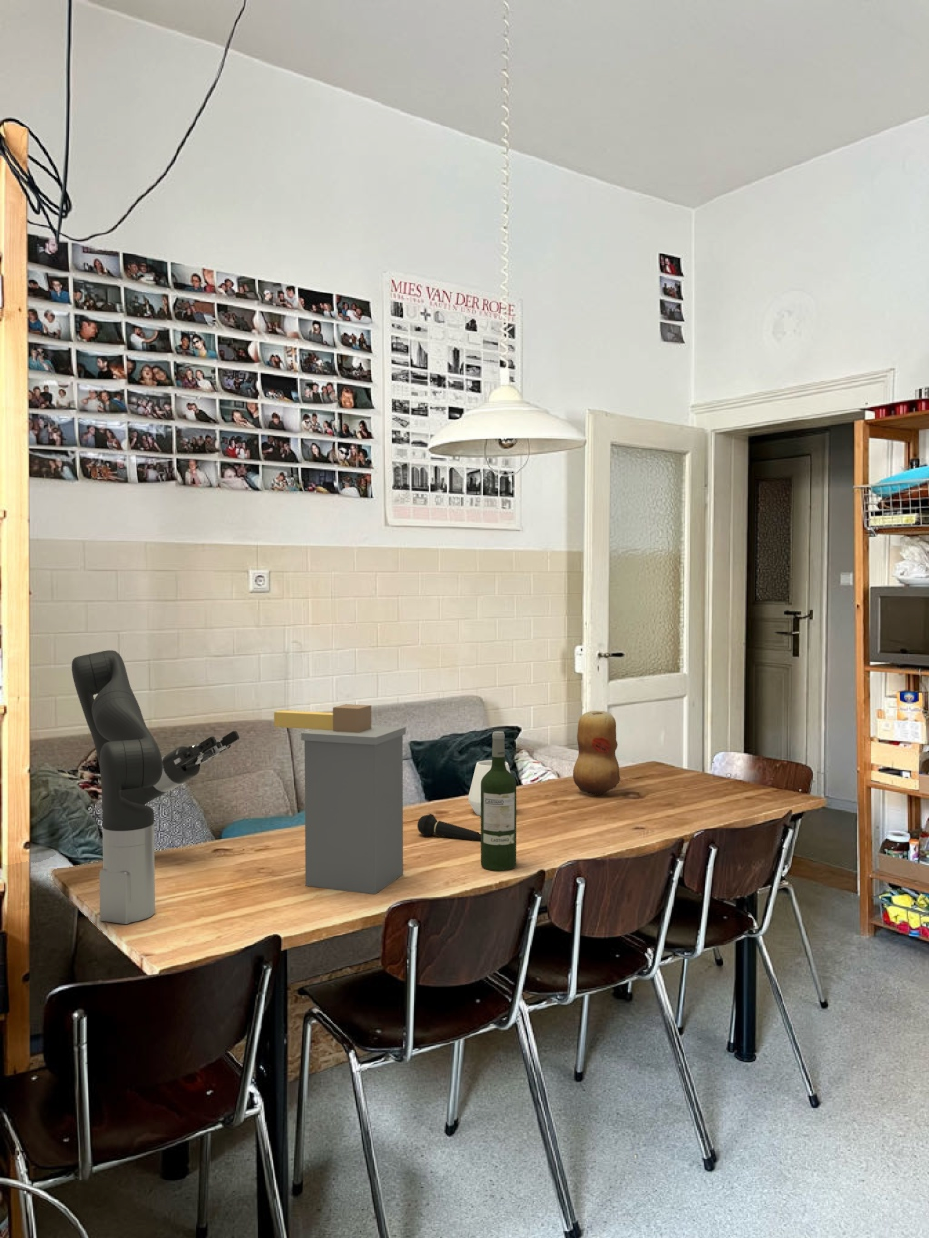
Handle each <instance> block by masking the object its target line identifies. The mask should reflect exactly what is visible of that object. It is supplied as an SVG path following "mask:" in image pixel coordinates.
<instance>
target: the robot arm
mask: <svg viewBox="0 0 929 1238" xmlns="http://www.w3.org/2000/svg"><path fill="white" fill-rule="evenodd" d="M71 673H72V679H73V683H74V684H73V685H74V687H75V690H76V693H77V698H78V700H79V703H80V705H81V709H82V712H83V715H84V718H85V721H86V724H87V726H88V729H89V732H90V735H91V737H92V741H93V744H94V747H95V751H96V756H97V761H98V765H99V771H100V772H99V773H100V774H99V775H100V787H101V810H102V811H101V812H102V817H101V818H102V820H101V821H102V825H101V826H102V869H99V874H98V875H99V877H98V878H99V916H100V917H99V920H100V921H102V922H107V923H115V924H121V925H122V924H123V925H128V924H130V923H134V922H139V921H143V920H146V919H149V918H150V917H153V915H155V913H156V882H155V881H156V880H155V879H156V878H155V877H156V876H155V875H156V874H155V872H156V871H155V812H154V810H153V808H152V807H151V806H148V805H147V804H148V803H150V802H152V801H153V800H155V799H158V798H159V797H160V796H162V795H163V794H165V793H168V792H169V791H171V790H174V789H175V788H177V787H179V786H181V785H182V784H184V783H186V782H187V781H189V780H191V779H192V778H194V777H196V776H198V774H199V773H200V770H201V764H204V763H206V762H208V761H209V760H210V759H213V758H215V757H217V756H218V755H219V754H221V753H223V752H225V751H226V750H229V749H231V748H232V746H231V745H232V744H233V743H235V742H238V740H240V736H239V733H238V731H237V730H233V731H231V732H229V733H227V734H226V735H224V736H222V737H220V738H219V739H216V737H215V736H210V737H207V738H206V739H205V740H203V741H201V742H199V743H196V744H194V745H190V746H182V745H180V746H179V747H178V746H177V747H176V748H175V749H174V750H172V751H170V752H169V753H167V754H165V755H164V756H162V753H161V749H160V748H159V746H158V743H157V742H156V740H155V738H154V737H153V735H152V733H151V731H150V730H149V729H148V727H147V725H146V722H145V720H144V717H143V714H142V710H141V708H140V705H139V703H138V700H137V698H136V696H135V694H134V691H133V689H132V687H131V685H130V679H129V677H128V673H127V668H126V666H125V662H124V660H123V658H122V656H121V654H120V652H117V651H116V650H114V649H113V650H112V649H111V650H102V651H97V652H93V653H88V654H83V655H79V656H78V655H77V656H76V657H74V658H73V659H72V661H71ZM94 696H95V697H94Z"/></svg>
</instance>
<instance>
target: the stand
mask: <svg viewBox="0 0 929 1238" xmlns="http://www.w3.org/2000/svg"><path fill="white" fill-rule="evenodd" d="M406 730H407V729H406V726H394V725H393V726H390V725H389V726H388V725H373V724H371V729H369V730H366V731H363V732H359V733H355V732H337V731H333V730H322V729H309V730H308V731H304V732H301V734H300V740H301V741H304V853H305V854H304V856H305V858H304V859H305V861H304V863H305V864H304V865H305V867H304V868H305V869H304V870H305V873H304V874H305V875H304V876H305V887H310V888H311V887H313V888H319V889H320V888H321V889H329V890H337V891H346V892H353V893H354V892H355V893H361V894H362V893H363V894H370V895H376V894H378V893H379V892H380V891H382V890H383V889H385V888H386V887H388V886H389V885H391V884H392V883H394V882H395V881H396V880H397V878H398V879H399V878H400V877H402V876H403V875H404V805H403V804H404V799H403V797H404V795H403V794H404V792H403V790H404V787H403V786H404V785H403V783H404V779H403V778H404V776H403V775H404V774H403V769H404V768H403V767H404V766H403V762H404V761H403V760H404V759H403V757H404V756H403V753H404V752H403V751H404V750H403V748H404V747H403V742H404V739H403V738H404V735H406V734H407V733H406ZM381 889H382V890H381Z"/></svg>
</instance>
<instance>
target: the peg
mask: <svg viewBox="0 0 929 1238" xmlns="http://www.w3.org/2000/svg"><path fill="white" fill-rule="evenodd" d="M371 725H372V705H369V704H347V703H346V704H341V705H338V706H337V705H336V706H332V712H325V711H305V710H304V711H302V710H283V709H282V710H278V711H274V712H273V726H274V727H275V728H288V729H304V730H305V729H306V730H307V729H308V730H314V729H322V730H333V731H337V732H355V733H359V732H363V731H366V730H369V729H371ZM274 727H273V728H274Z"/></svg>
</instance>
